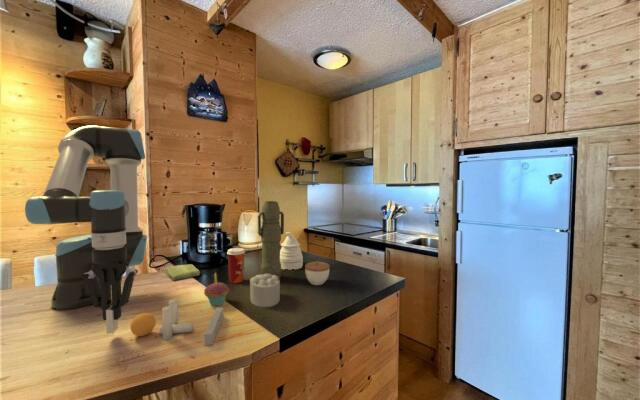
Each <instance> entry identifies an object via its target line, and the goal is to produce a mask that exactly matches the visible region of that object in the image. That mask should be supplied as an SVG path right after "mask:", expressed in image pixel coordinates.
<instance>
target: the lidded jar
mask: <svg viewBox="0 0 640 400" xmlns="http://www.w3.org/2000/svg"><path fill="white" fill-rule="evenodd" d="M304 268H305V269H304V271H305V277H306V279H307V281H308V282H309V284H310V285H313V286H321V285H324V284H325V283H326V281H327V280H328V279H329V275H330V268H331V267H330V264H329V263H327V262H322V261H318V260H316V261H312V262H311V261H310V262H308V263H305V265H304Z"/></svg>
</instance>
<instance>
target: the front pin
mask: <svg viewBox="0 0 640 400" xmlns="http://www.w3.org/2000/svg"><path fill="white" fill-rule="evenodd" d="M193 330H194V323H193V322H188V323H178V324H172V334H183V333H184V334H185V333H193ZM158 333H159V335H163V333H162V325H160V326H159V329H158Z"/></svg>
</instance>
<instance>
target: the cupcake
mask: <svg viewBox="0 0 640 400" xmlns="http://www.w3.org/2000/svg"><path fill="white" fill-rule="evenodd" d="M203 293H204V294H203V295H205V297H206V298H207V299H208V300H209V301H208V302H209V304H210V305H211V306H220V305H223V304H224V303H225V301H226V297H227V295H228V294H229V293H230V286H229V285H228V284H227V283H224V282H219V281H218V280H217V272H216V271H215V272H214V282H213V283H211V284H209V285H207V286H206V287H205V289H204V292H203Z"/></svg>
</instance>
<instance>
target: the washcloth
mask: <svg viewBox="0 0 640 400" xmlns="http://www.w3.org/2000/svg"><path fill="white" fill-rule="evenodd" d="M164 274H165V275H167V277H168V278H169V279H170V280H171V281H177V280H183V279H188V278H194V277H200V275H201V272H200V270H199V269H198V268H196V266H194V265H193V264H191V263H190V264H189V263H188V264H181V265H180V264H177V265H175V266H167V267H165V270H164Z"/></svg>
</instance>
